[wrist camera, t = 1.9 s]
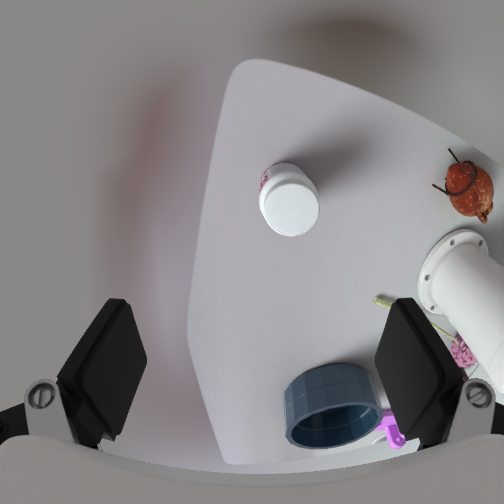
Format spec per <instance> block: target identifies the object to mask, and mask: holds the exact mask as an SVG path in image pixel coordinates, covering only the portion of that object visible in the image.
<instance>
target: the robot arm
mask: <svg viewBox="0 0 504 504" xmlns="http://www.w3.org/2000/svg"><path fill="white" fill-rule="evenodd" d="M418 295H419V299H420V300H421V302H422V304H423V305H424V307H425V308H426V309H427V310H428V311H429V312H431V313H434V314H445V315H446V317H447V318H448V319H449V321H450V322H451V323H452V325H453V326H454V327H455V329H456V330H457V332H458V333H459V334H460V336H461V337H462V339H463V340H464V341H465V343H466V344H467V346H468V347H469V349H470V350H471V352H472V353H473V354H474V356H475V357H476V359H477V360H478V362H479V364H480V365H481V367H482V368H483V370H484V371H485V373H486V374H487V376H488V378H489V379H490V381H491V382H492V384H493V385H494V387H495V388H496V389H497V390H498V391H499V392H501V393H502V394H504V267H502V266H501V265H499V264H498V263H497V262H496V261H495V260H493V259H492V258H491V257H490V256H489V251H488V247H487V244H486V242H485V240H484V239H483V237H482V236H481V235H479V234H478V233H477V232H475V231H473V230H470V229H460V230H456V231H454V232H451V233H449V234H448V235H446V236H445V237H443V238H442V239H441V240H440V241H439V242H438V243H437V244H436V245H435V246H434V248H433V249H432V250H431V251H430V253H429V254H428V256H427V258H426V259H425V261H424V264H423V266H422V268H421V271H420V274H419V279H418ZM146 364H147V356H146V353H145V351H144V347H143V344H142V341H141V338H140V335H139V332H138V329H137V326H136V322H135V319H134V316H133V313H132V309H131V306H130V304H128V303H127V302H126V301H125V300H124V299H113V298H110V299H109V300H108V301H107V302H106V303H105V305H104V306H103V308H102V309H101V310H100V312H99V313H98V315H97V316H96V317H95V319H94V320H93V322H92V323H91V325H90V326H89V328H88V329H87V330H86V332H85V333H84V335H83V336H82V338H81V339H80V341H79V342H78V344H77V345H76V347H75V348H74V350H73V351H72V353H71V355H70V356H69V358H68V359H67V361H66V362H65V364H64V366H63V367H62V369H61V371H60V372H59V374H58V375H57V378H58V380H57V382H56V383H55V382H54V381H52V380H49V379H42V380H38V381H36V382H34V383H33V384H32V385H30V386H29V388H28V389H27V390H26V393H25V396H24V397H25V398H24V403H22V404H19V405H17V406H14V407H12V408H9V409H6V410H4V411H2V412H0V504H504V405H502V404H499V403H497V402H495V400H496V399H495V393H494V390H493V388H492V387H491V385H489V384H488V383H487V382H486V381H484V380H482V379H478V378H474V379H469V380H467V381H466V382H464V380H463V377H464V374H463V373H462V371H461V369H460V368H459V366H458V364H457V363H456V361H455V360H454V358H453V356H452V355H451V353H450V352H449V350H448V348H447V347H446V345H445V344H444V342H443V341H442V339H441V338H440V336H439V335H438V333H437V332H436V330H435V329H434V327H433V326H432V324H431V323H430V321H429V320H428V318H427V317H426V316H425V314H424V313H423V311H422V310H421V308H420V307H419V306H418V304H417V303H416V302H415V300H414V299H413V298H399V299H397V300H396V302H395V303H393V304H392V305H391V308H390V312H389V315H388V318H387V322H386V325H385V328H384V331H383V334H382V337H381V340H380V343H379V346H378V349H377V352H376V354H375V366H376V368H377V371H378V373H379V376H380V379H381V381H382V384H383V387H384V389H385V392H386V395H387V398H388V400H389V403H390V406H391V409H392V412H393V415H394V418H395V421H396V424H397V427H398V430H399V432H400V434H402V435H404V437H405V440H406V441H408V440H412V439H415V438H419V440H420V445H419V447H418V450H417V452H414V453H410V454H406V455H402V456H399V457H395V458H391V459H387V460H383V461H378V462H373V463H368V464H363V465H358V466H352V467H346V468H339V469H332V470H325V471H314V472H303V473H289V474H231V473H216V472H205V471H196V470H188V469H180V468H174V467H167V466H162V465H156V464H151V463H146V462H142V461H137V460H133V459H129V458H125V457H121V456H117V455H113V454H109V453H105V452H103V450H102V448H101V445H100V441H101V439H102V438H104V439H108V440H111V441H115V438H116V435H119V434H120V433H121V431H122V429H123V426H124V423H125V420H126V418H127V415H128V412H129V409H130V407H131V404H132V401H133V398H134V396H135V393H136V390H137V388H138V385H139V383H140V380H141V377H142V375H143V372H144V370H145V367H146Z"/></svg>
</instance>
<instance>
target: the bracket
mask: <svg viewBox="0 0 504 504" xmlns="http://www.w3.org/2000/svg"><path fill="white" fill-rule="evenodd" d="M375 430H385V433H386V436H387V439H388V443H389V445H390V447H392V448H393V449H399V448H401V447H402V446H403V445H404V444H405V443H406V440H405V437H404V435H402V434H400V432H399V430H398V427H397V424H396V421H395V418H394V415H393V412H392V410H391V411H383V419H382V421H381V422H380V424H379V426H378V427H377V428H375V429H374V430H373V431H375Z"/></svg>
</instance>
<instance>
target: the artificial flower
mask: <svg viewBox="0 0 504 504" xmlns="http://www.w3.org/2000/svg"><path fill="white" fill-rule="evenodd" d="M373 302H375V303H378V304H380V305H382V306H385V307H387V308H389V309H390V308H391V305H392V304H390V303H388V302H385V301H383V300H381V299H378V298H376V297H375V298H374V301H373ZM430 323H431V324H432V326H433V327H434V328H435V329H437V330H438V331H440V332H442V333H443V334H445V335H446V336H448V337H450V338H452V339H453V340H454V342H453V341H452V342H451V353H452V356H453V358H454V360H455V361H456V363H457V364H458V366H460V367H461V368H462V367H470V366H469V365H472V364H473V365H474V362H477V361H478V360H477V359H476V357H475V356H474V354H473V353H472V352H471V350H470V349H469V347H468V346H467V344H466V343H465V341H464V340H463V339H462V337H461V336H459V335H458V334H457V338H456V337H455V339H454V338H453V337H452V336H451V335H449V334H447V333H446V332H445V331H443V330H442V329H440V328H439V327H438V326H436V325H435V324H433V323H432V322H431V321H430ZM467 364H468V365H467Z"/></svg>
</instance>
